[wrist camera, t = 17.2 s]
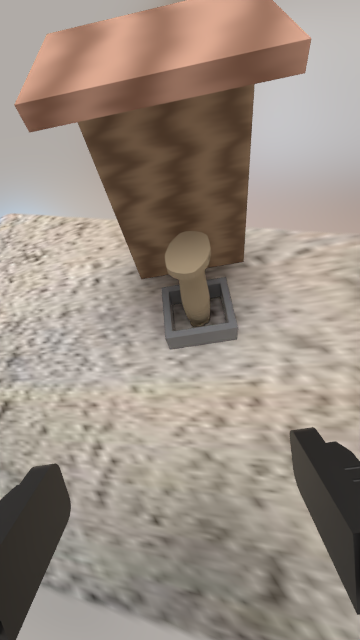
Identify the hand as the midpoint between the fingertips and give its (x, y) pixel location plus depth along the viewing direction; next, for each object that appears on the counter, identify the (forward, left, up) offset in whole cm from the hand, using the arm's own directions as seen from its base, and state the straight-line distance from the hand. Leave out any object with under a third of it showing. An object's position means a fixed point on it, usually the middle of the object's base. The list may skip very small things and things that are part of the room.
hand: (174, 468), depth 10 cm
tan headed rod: (+1, +22, -28) cm, 36 cm away
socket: (+1, +23, -27) cm, 36 cm away
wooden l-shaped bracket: (+1, +27, -27) cm, 39 cm away
